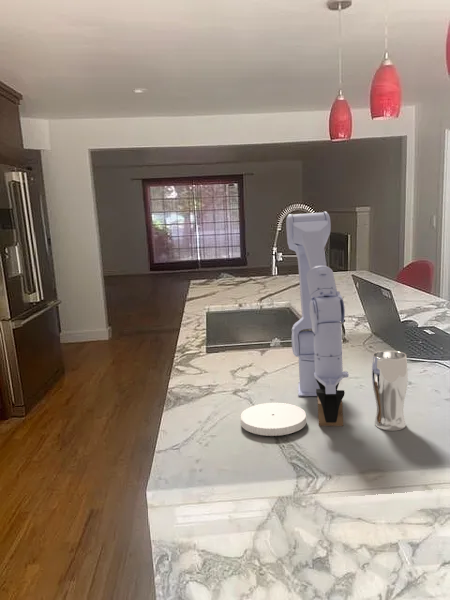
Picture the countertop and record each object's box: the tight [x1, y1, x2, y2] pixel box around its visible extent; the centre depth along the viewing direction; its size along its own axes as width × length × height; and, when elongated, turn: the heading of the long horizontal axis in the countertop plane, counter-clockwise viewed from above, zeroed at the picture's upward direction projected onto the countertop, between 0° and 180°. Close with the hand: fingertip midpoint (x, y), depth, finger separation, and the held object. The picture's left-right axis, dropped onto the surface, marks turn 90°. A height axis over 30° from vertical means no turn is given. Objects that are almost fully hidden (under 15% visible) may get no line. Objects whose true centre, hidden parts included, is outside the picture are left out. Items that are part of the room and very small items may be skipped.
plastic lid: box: [239, 402, 307, 437], centre depth 107 cm, size 14×14×2 cm
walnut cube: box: [316, 396, 344, 427], centre depth 106 cm, size 5×5×5 cm
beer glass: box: [371, 349, 409, 432], centre depth 101 cm, size 7×7×15 cm
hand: (330, 414), depth 106 cm, fingers open, 7 cm apart
